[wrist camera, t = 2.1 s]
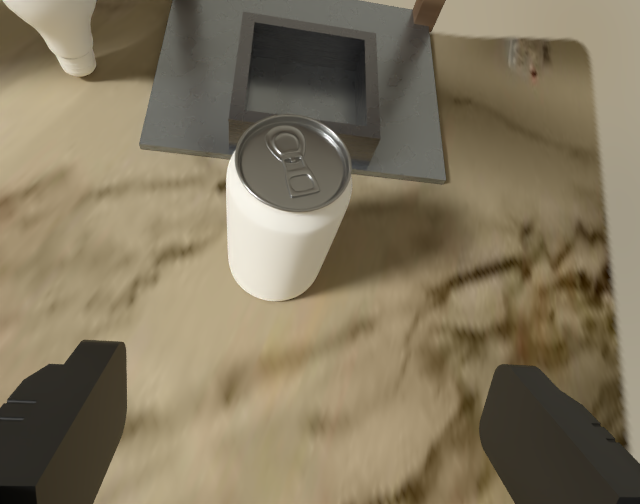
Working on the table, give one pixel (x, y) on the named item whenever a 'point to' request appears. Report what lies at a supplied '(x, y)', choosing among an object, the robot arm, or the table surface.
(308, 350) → the table surface
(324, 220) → the can
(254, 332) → the table surface
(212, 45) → the socket
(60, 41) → the lightbulb
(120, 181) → the table surface
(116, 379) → the robot arm
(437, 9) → the wooden arch stand
